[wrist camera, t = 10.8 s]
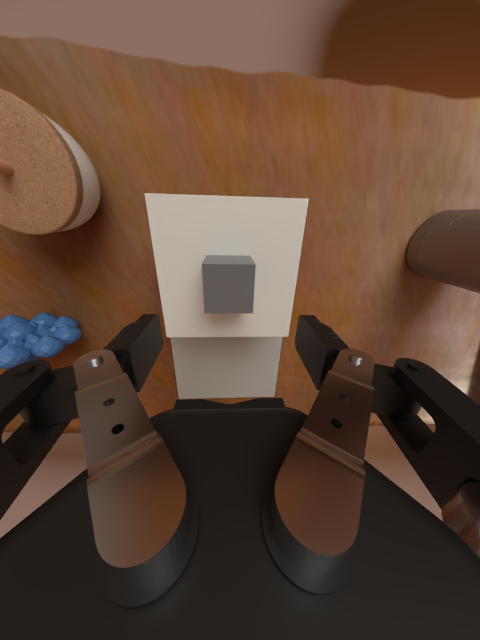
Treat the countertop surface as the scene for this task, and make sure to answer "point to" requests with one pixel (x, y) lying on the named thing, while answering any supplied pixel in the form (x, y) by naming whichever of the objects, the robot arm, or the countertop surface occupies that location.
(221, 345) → the mat
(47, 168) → the lidded jar
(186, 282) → the lid
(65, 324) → the grapes
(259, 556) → the robot arm
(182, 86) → the countertop surface
